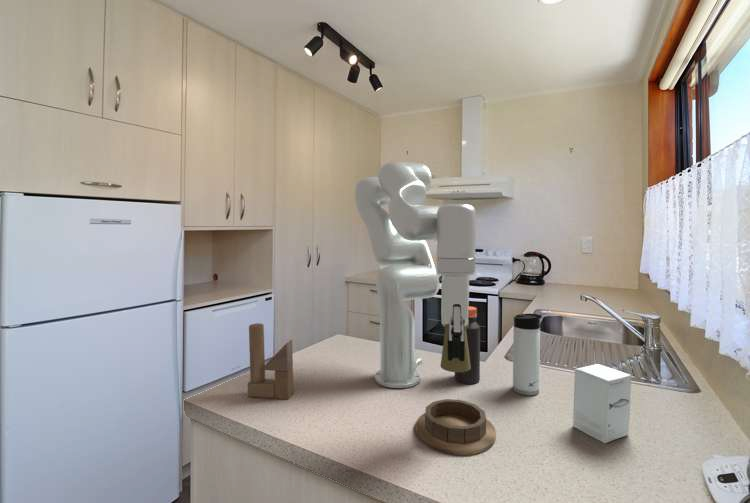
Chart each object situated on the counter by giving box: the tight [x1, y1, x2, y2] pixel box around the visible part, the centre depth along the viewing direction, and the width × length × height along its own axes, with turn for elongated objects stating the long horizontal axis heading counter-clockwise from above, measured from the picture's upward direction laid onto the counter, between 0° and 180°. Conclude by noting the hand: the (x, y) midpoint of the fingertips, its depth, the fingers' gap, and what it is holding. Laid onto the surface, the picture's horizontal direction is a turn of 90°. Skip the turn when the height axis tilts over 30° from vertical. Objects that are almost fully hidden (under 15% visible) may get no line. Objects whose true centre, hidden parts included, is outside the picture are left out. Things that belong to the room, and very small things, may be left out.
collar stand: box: [415, 398, 497, 456], centre depth 77 cm, size 16×16×4 cm
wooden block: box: [247, 323, 294, 400], centre depth 94 cm, size 4×11×18 cm, turn 82°
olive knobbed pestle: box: [440, 320, 471, 373], centre depth 76 cm, size 6×6×11 cm
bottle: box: [454, 306, 481, 385], centre depth 103 cm, size 7×7×20 cm
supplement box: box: [572, 363, 632, 444], centre depth 76 cm, size 7×7×13 cm
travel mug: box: [512, 313, 543, 397], centre depth 95 cm, size 6×7×20 cm
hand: (455, 355), depth 76 cm, fingers closed on olive knobbed pestle, 4 cm apart
